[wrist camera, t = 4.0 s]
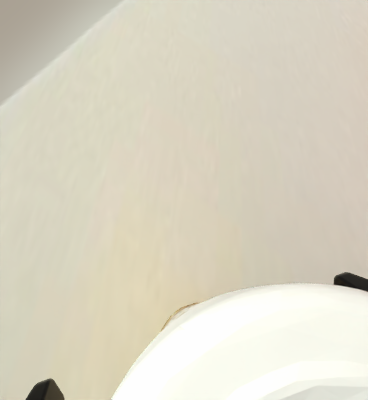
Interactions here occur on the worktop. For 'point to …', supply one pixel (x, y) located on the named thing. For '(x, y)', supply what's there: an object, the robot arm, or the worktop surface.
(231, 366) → the sprinkles bottle
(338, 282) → the robot arm
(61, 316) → the worktop surface
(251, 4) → the worktop surface
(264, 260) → the worktop surface
